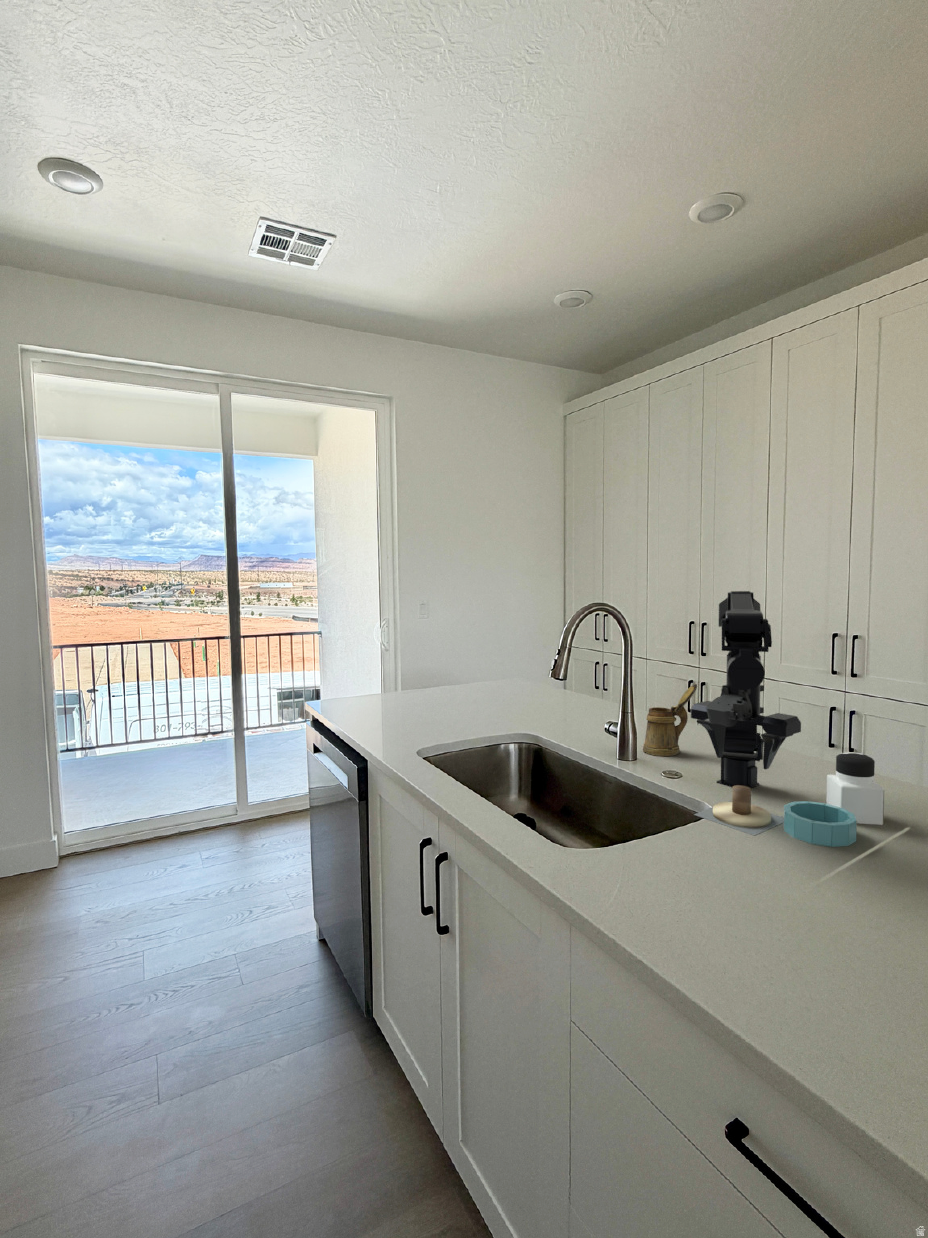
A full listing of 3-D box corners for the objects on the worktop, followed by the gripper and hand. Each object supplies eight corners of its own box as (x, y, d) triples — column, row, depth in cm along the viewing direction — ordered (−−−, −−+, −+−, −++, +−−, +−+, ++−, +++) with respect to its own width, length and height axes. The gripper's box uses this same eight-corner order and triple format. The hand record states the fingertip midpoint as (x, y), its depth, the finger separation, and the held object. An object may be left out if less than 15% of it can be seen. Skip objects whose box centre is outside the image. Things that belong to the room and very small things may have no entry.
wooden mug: (700, 757, 154) (700, 687, 153) (644, 755, 156) (644, 686, 155) (693, 748, 163) (694, 681, 162) (641, 746, 165) (641, 680, 164)
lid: (701, 814, 116) (702, 786, 116) (731, 803, 122) (732, 776, 121) (752, 832, 108) (752, 802, 107) (781, 819, 113) (782, 790, 113)
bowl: (771, 832, 109) (772, 810, 108) (802, 818, 115) (803, 797, 114) (836, 854, 100) (837, 830, 99) (866, 837, 106) (867, 814, 106)
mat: (693, 816, 116) (693, 814, 116) (730, 802, 123) (730, 800, 123) (754, 837, 106) (754, 835, 106) (790, 821, 113) (790, 819, 113)
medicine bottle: (884, 826, 110) (885, 761, 109) (840, 824, 112) (841, 759, 111) (866, 812, 117) (868, 750, 116) (825, 810, 119) (826, 749, 118)
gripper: (673, 678, 116) (672, 759, 117) (769, 692, 101) (767, 785, 102) (707, 672, 123) (707, 749, 124) (803, 685, 107) (801, 772, 108)
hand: (742, 762), depth 114 cm, fingers open, 9 cm apart
